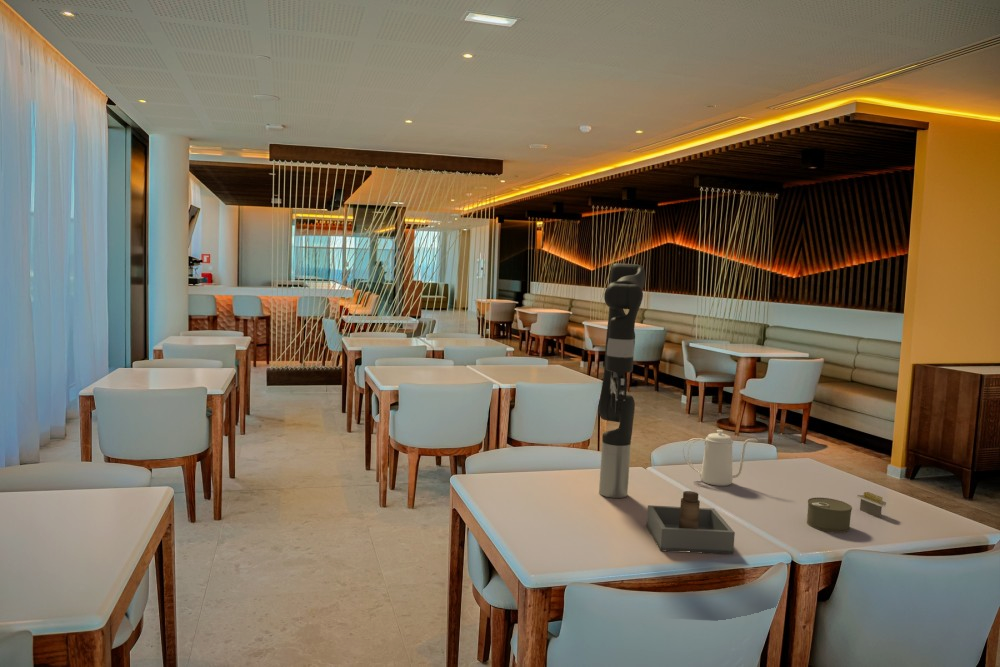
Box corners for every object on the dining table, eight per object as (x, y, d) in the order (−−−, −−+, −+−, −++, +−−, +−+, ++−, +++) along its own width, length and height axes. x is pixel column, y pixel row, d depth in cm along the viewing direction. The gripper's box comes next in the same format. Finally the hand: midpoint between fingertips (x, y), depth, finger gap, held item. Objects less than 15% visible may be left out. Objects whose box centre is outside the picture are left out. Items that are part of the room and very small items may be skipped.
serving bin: (646, 525, 208) (647, 505, 208) (712, 528, 208) (714, 508, 207) (660, 551, 189) (662, 528, 189) (733, 554, 189) (734, 532, 188)
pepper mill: (676, 532, 201) (679, 490, 200) (694, 532, 201) (697, 490, 200) (680, 538, 196) (684, 495, 195) (699, 539, 196) (702, 496, 195)
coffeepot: (754, 491, 247) (759, 437, 245) (680, 481, 255) (683, 429, 253) (754, 483, 257) (758, 431, 256) (682, 473, 265) (686, 423, 264)
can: (859, 533, 210) (861, 510, 210) (821, 533, 208) (823, 510, 208) (833, 519, 222) (835, 497, 221) (797, 519, 220) (799, 497, 219)
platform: (863, 504, 239) (865, 485, 238) (910, 523, 222) (912, 502, 222) (835, 507, 235) (837, 487, 234) (881, 526, 218) (883, 505, 218)
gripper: (637, 358, 197) (634, 416, 199) (629, 352, 211) (625, 406, 213) (610, 357, 197) (607, 415, 199) (603, 351, 211) (600, 405, 213)
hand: (616, 410), depth 206 cm, fingers open, 8 cm apart
